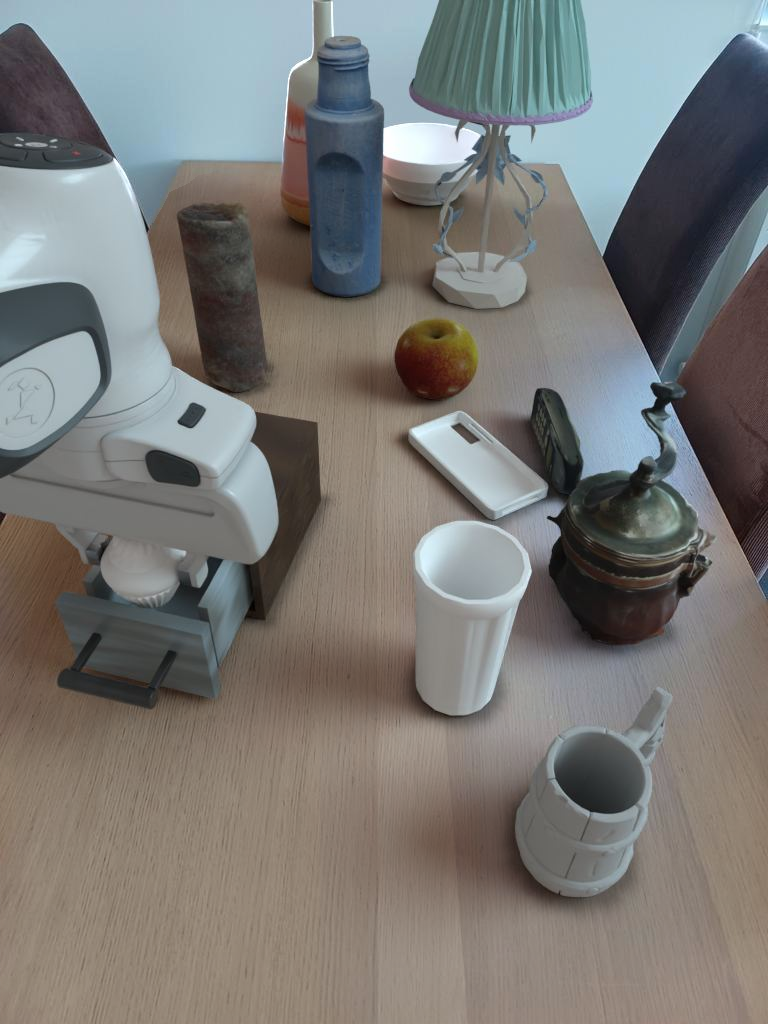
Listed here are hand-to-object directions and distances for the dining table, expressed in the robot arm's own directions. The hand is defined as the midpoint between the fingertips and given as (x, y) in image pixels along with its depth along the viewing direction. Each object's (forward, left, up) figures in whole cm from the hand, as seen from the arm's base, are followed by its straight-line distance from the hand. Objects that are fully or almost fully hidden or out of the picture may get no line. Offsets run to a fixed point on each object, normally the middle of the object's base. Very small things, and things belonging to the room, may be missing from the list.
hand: (146, 569), depth 58 cm
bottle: (-4, +65, -10) cm, 66 cm away
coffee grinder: (+34, +16, -10) cm, 39 cm away
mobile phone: (+28, +33, -10) cm, 45 cm away
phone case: (+20, +30, -10) cm, 38 cm away
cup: (+23, +3, -10) cm, 25 cm away
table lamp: (+14, +69, -10) cm, 71 cm away
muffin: (0, 0, -3) cm, 3 cm away
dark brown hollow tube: (-10, +39, -10) cm, 42 cm away
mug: (+34, -6, -10) cm, 36 cm away
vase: (-13, +85, -10) cm, 87 cm away
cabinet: (0, +13, -10) cm, 16 cm away
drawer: (0, +1, -9) cm, 9 cm away
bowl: (0, +99, -10) cm, 100 cm away
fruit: (+13, +43, -10) cm, 46 cm away
